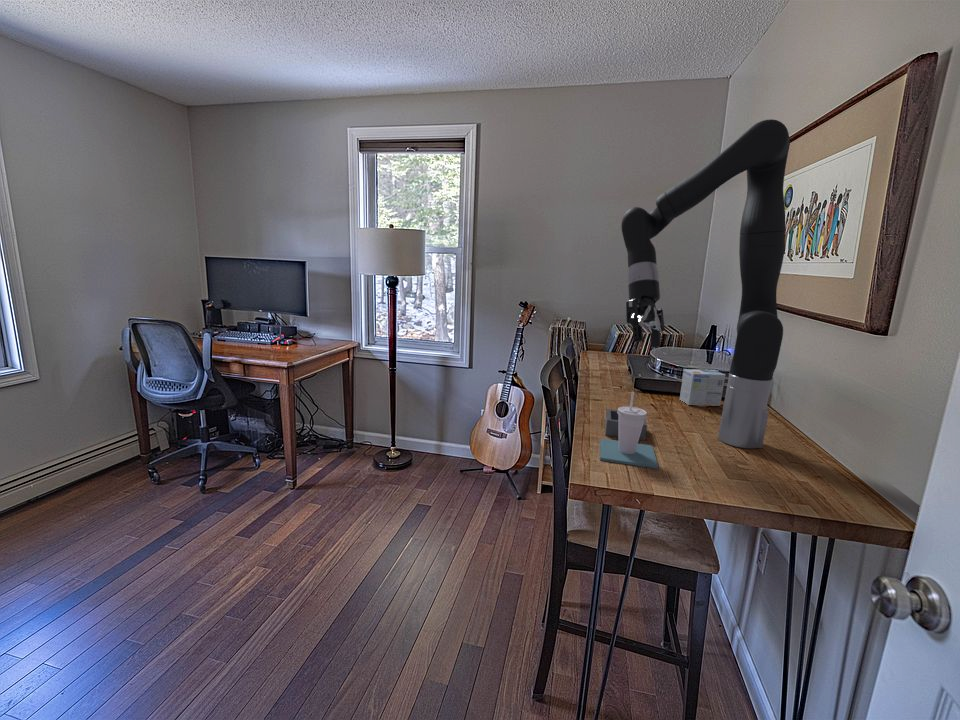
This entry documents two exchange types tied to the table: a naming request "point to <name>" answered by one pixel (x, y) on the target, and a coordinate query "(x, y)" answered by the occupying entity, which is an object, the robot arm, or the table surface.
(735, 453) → the table surface
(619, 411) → the smoothie
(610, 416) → the frame
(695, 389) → the light bulb box
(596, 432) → the table surface
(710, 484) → the table surface
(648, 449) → the coaster
